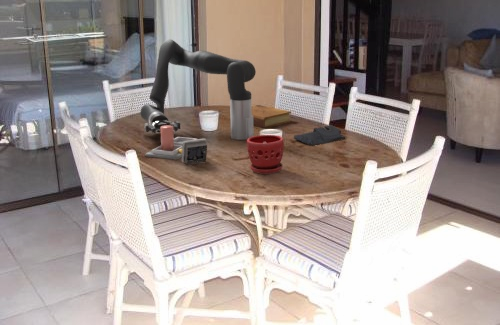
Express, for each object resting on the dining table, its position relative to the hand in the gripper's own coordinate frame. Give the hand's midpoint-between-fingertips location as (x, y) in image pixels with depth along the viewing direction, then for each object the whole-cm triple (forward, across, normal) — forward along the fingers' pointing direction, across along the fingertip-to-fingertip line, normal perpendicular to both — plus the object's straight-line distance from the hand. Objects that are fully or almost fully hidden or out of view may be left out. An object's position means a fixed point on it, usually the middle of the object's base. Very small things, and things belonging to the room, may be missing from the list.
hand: (165, 130), depth 230 cm
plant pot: (+37, +29, +9) cm, 48 cm away
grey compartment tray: (-1, +4, +9) cm, 10 cm away
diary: (-36, +53, +10) cm, 65 cm away
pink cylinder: (+4, 0, +8) cm, 9 cm away
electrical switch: (+19, +8, +9) cm, 23 cm away
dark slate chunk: (+4, +66, +10) cm, 66 cm away
